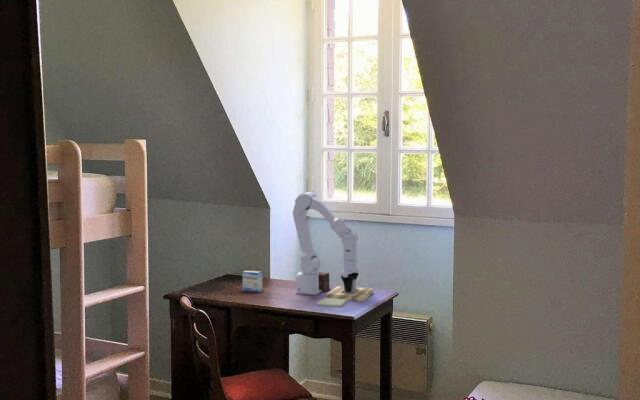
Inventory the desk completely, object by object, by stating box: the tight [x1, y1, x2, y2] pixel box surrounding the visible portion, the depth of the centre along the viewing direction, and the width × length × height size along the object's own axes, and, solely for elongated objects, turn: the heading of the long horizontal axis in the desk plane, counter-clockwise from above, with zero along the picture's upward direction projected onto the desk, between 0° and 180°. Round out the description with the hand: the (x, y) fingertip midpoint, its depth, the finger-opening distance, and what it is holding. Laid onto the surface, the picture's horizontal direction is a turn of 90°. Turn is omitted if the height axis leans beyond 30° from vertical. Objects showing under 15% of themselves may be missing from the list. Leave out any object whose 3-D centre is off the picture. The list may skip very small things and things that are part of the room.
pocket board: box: [325, 285, 374, 302], centre depth 306 cm, size 16×16×2 cm
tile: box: [316, 297, 349, 308], centre depth 293 cm, size 10×10×1 cm
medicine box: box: [242, 270, 263, 293], centre depth 316 cm, size 8×4×9 cm, turn 73°
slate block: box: [343, 279, 357, 294], centre depth 305 cm, size 4×4×7 cm
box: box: [319, 271, 330, 292], centre depth 318 cm, size 6×6×7 cm
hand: (349, 290), depth 305 cm, fingers closed on slate block, 4 cm apart
